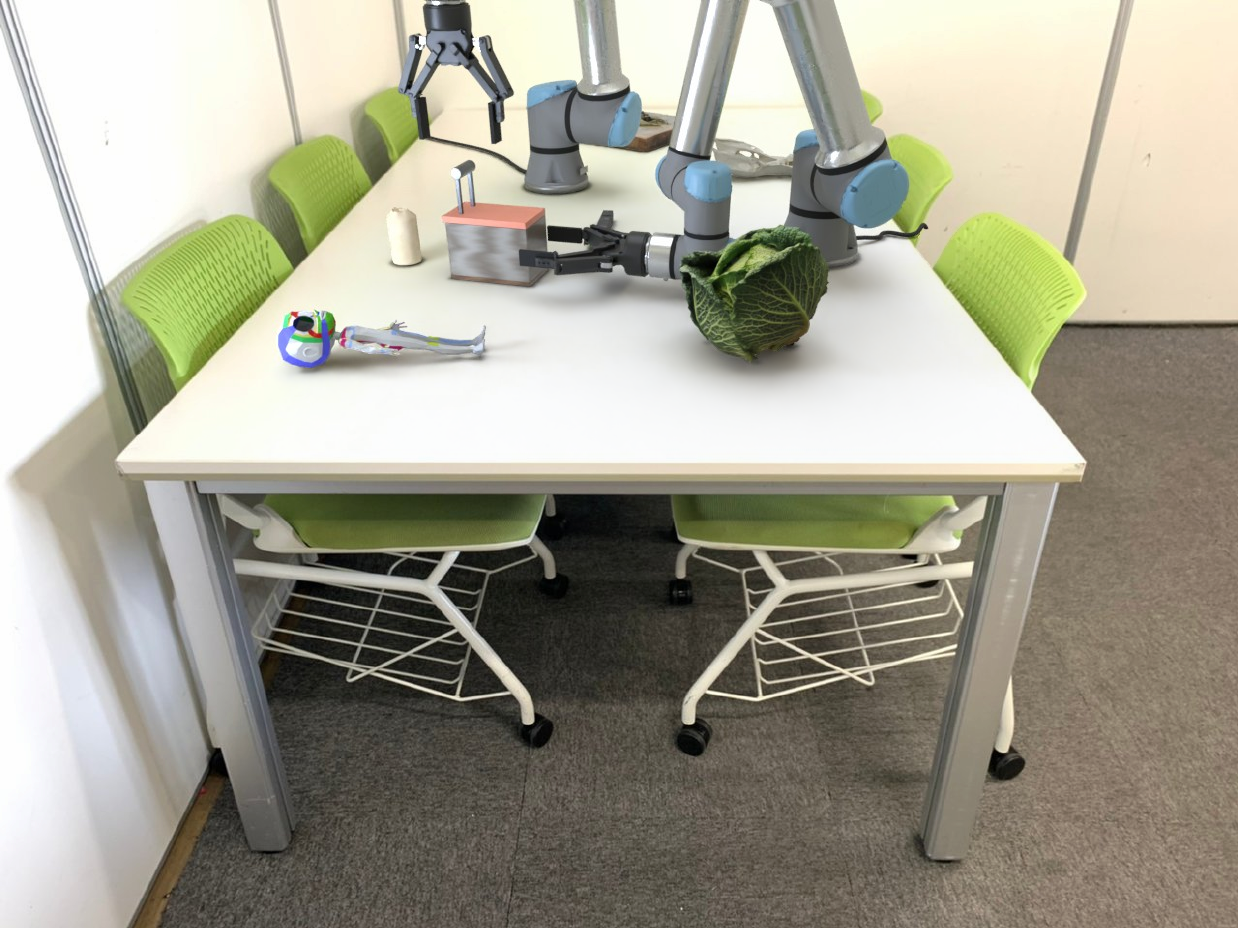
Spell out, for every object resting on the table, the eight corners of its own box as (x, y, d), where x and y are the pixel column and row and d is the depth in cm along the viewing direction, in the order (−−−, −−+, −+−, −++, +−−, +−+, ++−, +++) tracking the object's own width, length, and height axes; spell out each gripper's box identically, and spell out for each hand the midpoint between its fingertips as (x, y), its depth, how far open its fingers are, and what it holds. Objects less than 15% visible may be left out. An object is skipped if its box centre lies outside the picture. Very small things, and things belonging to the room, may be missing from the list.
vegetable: (713, 374, 144) (652, 267, 136) (810, 307, 145) (755, 197, 138) (765, 401, 126) (698, 280, 118) (875, 325, 127) (816, 200, 119)
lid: (442, 222, 158) (435, 169, 153) (465, 207, 166) (459, 156, 161) (525, 229, 154) (521, 175, 149) (545, 214, 161) (542, 162, 156)
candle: (427, 257, 173) (420, 205, 168) (412, 267, 168) (405, 214, 163) (402, 254, 174) (394, 203, 169) (387, 264, 170) (378, 211, 165)
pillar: (613, 210, 190) (600, 241, 173) (613, 220, 191) (600, 251, 174) (603, 210, 190) (589, 240, 173) (603, 220, 191) (589, 251, 174)
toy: (485, 337, 129) (268, 320, 125) (482, 389, 134) (272, 374, 129) (486, 310, 138) (283, 293, 133) (484, 360, 142) (287, 345, 138)
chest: (451, 278, 164) (444, 223, 158) (473, 262, 171) (467, 208, 165) (530, 286, 159) (525, 230, 154) (548, 269, 167) (545, 214, 161)
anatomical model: (702, 130, 224) (803, 129, 220) (702, 168, 229) (801, 167, 225) (697, 145, 212) (805, 144, 208) (697, 184, 216) (802, 184, 213)
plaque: (647, 125, 237) (559, 112, 252) (647, 153, 241) (560, 139, 256) (706, 107, 258) (622, 97, 273) (705, 133, 262) (622, 121, 277)
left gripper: (364, 3, 143) (385, 141, 154) (508, 5, 136) (518, 149, 148) (388, -2, 149) (406, 131, 160) (527, 0, 142) (535, 139, 154)
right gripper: (629, 302, 146) (508, 290, 151) (667, 252, 166) (559, 243, 171) (629, 257, 141) (505, 246, 147) (668, 212, 162) (557, 204, 167)
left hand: (460, 140), depth 154 cm, fingers open, 13 cm apart
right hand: (534, 245), depth 159 cm, fingers open, 13 cm apart
